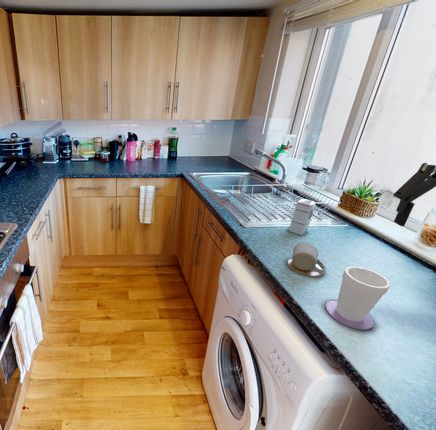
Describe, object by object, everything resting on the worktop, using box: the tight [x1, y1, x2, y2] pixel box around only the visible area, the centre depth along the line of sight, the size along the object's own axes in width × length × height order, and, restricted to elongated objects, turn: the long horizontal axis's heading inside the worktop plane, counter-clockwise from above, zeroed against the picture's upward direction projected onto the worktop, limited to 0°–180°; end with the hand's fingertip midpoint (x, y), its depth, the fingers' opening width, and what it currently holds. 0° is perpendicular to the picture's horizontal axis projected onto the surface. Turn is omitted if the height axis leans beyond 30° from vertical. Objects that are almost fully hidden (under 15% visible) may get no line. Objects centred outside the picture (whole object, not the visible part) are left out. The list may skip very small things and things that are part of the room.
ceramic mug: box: [291, 242, 327, 274], centre depth 101 cm, size 11×8×8 cm
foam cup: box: [336, 266, 391, 322], centre depth 79 cm, size 10×9×13 cm
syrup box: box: [288, 198, 317, 236], centre depth 125 cm, size 6×6×14 cm
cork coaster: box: [287, 258, 324, 278], centre depth 103 cm, size 11×11×1 cm
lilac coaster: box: [325, 300, 375, 331], centre depth 82 cm, size 11×11×1 cm
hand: (428, 226), depth 76 cm, fingers open, 13 cm apart
